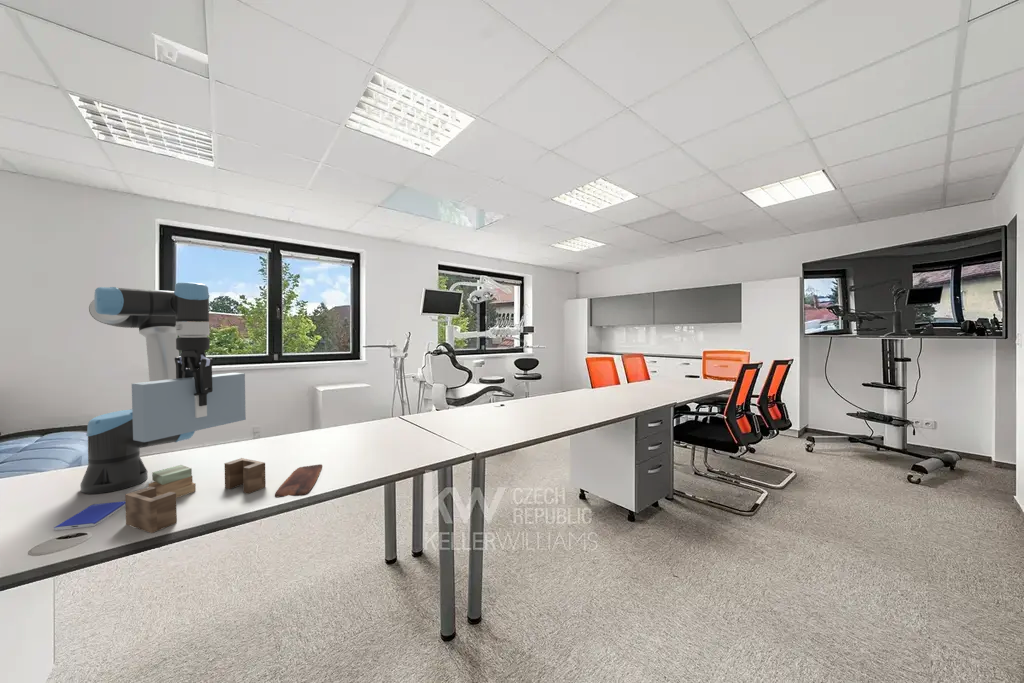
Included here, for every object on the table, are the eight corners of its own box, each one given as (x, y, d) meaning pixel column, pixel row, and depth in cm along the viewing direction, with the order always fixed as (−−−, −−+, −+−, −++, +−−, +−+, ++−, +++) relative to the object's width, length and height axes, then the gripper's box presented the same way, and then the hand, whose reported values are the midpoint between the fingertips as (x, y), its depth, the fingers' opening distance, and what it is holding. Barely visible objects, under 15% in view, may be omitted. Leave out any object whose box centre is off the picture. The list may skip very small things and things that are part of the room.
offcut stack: (145, 499, 114) (144, 474, 114) (181, 487, 123) (180, 464, 122) (160, 503, 111) (160, 478, 111) (196, 491, 120) (195, 467, 120)
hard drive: (91, 504, 108) (53, 526, 97) (127, 500, 111) (94, 522, 99) (91, 509, 109) (53, 532, 97) (127, 506, 111) (95, 527, 99)
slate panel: (133, 439, 101) (131, 383, 100) (235, 418, 125) (234, 372, 124) (144, 442, 99) (142, 384, 98) (245, 419, 123) (244, 373, 122)
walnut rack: (126, 524, 100) (125, 494, 99) (242, 481, 128) (241, 458, 127) (151, 533, 96) (150, 501, 95) (265, 487, 124) (265, 462, 123)
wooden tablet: (297, 464, 141) (326, 458, 144) (297, 469, 142) (327, 464, 144) (271, 495, 116) (307, 488, 118) (272, 502, 116) (308, 495, 118)
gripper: (158, 336, 111) (160, 415, 111) (198, 337, 104) (200, 421, 105) (188, 335, 118) (190, 410, 118) (227, 336, 111) (228, 416, 112)
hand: (194, 415), depth 112 cm, fingers closed on slate panel, 5 cm apart
